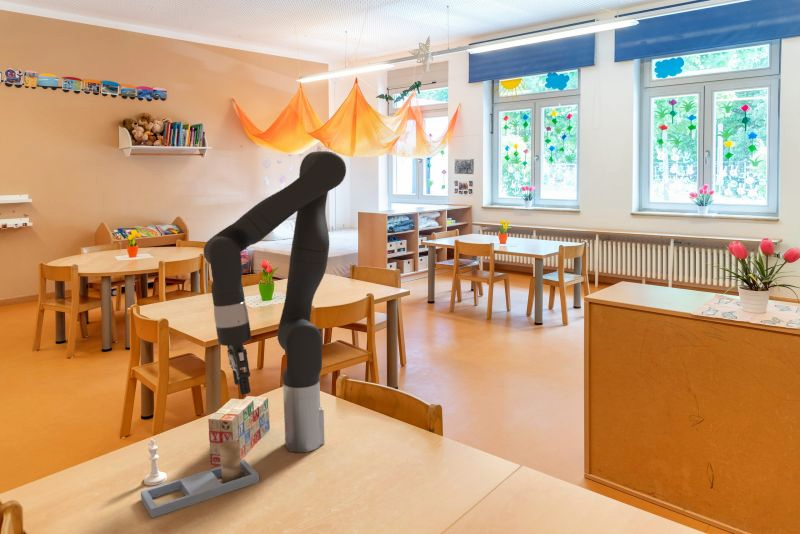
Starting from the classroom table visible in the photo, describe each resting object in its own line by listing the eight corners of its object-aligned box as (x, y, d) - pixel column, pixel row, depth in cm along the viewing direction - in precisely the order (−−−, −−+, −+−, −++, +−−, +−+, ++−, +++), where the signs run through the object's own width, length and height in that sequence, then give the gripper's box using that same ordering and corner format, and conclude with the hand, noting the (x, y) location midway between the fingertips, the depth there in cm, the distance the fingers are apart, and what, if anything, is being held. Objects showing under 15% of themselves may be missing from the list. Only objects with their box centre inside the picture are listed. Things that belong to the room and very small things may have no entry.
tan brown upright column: (237, 473, 142) (235, 438, 140) (244, 481, 138) (242, 445, 137) (219, 479, 139) (216, 443, 138) (226, 487, 136) (223, 450, 134)
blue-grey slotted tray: (244, 466, 145) (244, 459, 145) (258, 481, 138) (258, 473, 138) (141, 499, 131) (140, 491, 131) (151, 518, 124) (151, 509, 124)
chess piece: (139, 483, 138) (135, 442, 136) (155, 472, 142) (152, 433, 141) (155, 487, 136) (152, 446, 134) (171, 476, 141) (168, 436, 139)
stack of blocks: (249, 427, 167) (246, 385, 164) (270, 429, 165) (268, 386, 163) (210, 465, 146) (207, 417, 144) (234, 468, 145) (231, 419, 143)
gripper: (254, 324, 135) (264, 393, 137) (243, 314, 148) (252, 377, 150) (219, 331, 132) (230, 401, 134) (211, 319, 145) (222, 384, 147)
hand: (242, 388), depth 142 cm, fingers open, 8 cm apart
